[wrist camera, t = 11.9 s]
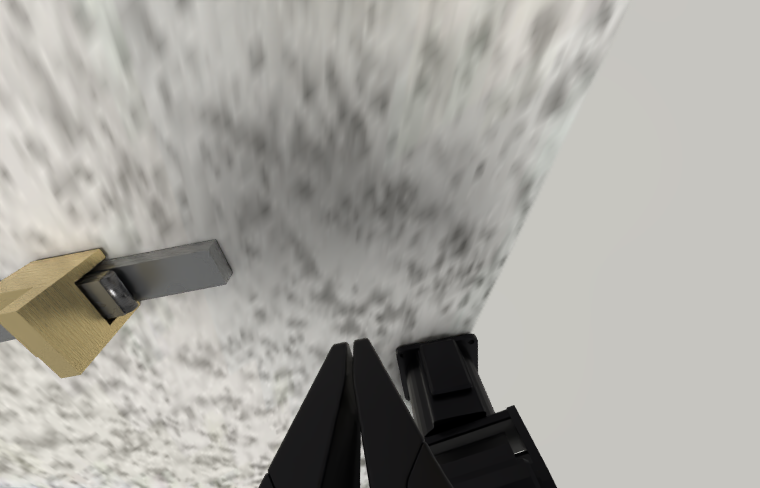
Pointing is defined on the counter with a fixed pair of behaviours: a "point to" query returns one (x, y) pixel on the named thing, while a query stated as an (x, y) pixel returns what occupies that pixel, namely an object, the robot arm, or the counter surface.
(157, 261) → the tong base
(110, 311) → the upper tong arm
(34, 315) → the collar
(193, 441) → the counter surface
